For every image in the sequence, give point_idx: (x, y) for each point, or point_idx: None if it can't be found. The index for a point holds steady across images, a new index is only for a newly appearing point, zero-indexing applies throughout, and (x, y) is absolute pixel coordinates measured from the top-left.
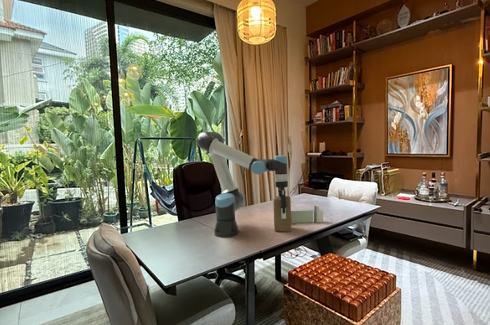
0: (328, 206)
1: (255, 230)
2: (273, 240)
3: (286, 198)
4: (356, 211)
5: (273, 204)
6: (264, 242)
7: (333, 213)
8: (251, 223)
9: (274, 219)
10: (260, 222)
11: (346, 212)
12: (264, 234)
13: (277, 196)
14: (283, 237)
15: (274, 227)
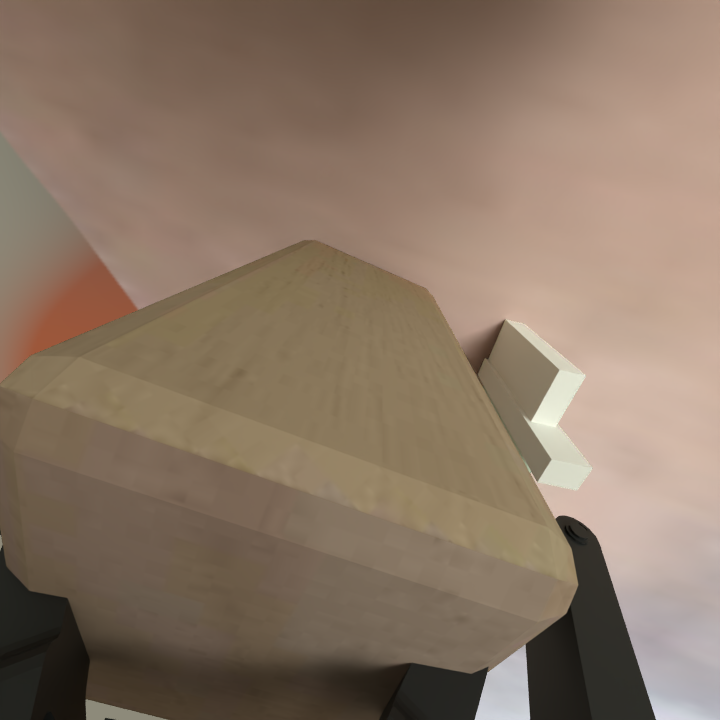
0: (651, 690)
1: (398, 21)
2: (90, 154)
3: (91, 681)
4: (486, 711)
5: (175, 308)
6: (32, 39)
7: (514, 654)
8: (689, 28)
9: (272, 254)
10: (645, 172)
11: (495, 687)
12: (248, 106)
13: (455, 634)
14: (160, 263)
15: (305, 242)
